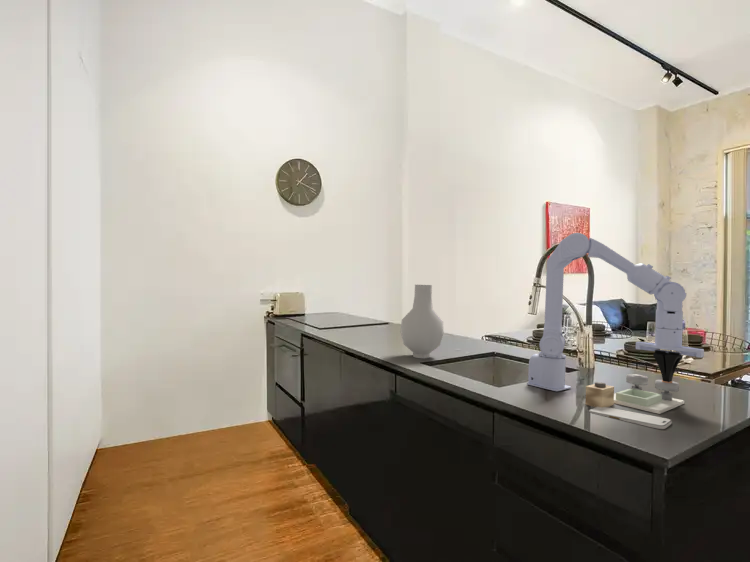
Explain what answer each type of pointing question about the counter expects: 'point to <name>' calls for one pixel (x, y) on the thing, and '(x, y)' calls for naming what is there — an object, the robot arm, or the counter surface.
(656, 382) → the grey rounded cap
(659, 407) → the chassis
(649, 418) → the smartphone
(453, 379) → the counter surface
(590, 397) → the tan wooden block
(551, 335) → the robot arm
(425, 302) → the vase
